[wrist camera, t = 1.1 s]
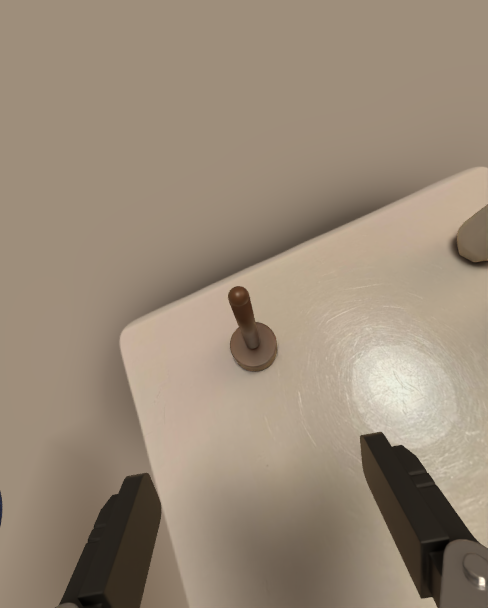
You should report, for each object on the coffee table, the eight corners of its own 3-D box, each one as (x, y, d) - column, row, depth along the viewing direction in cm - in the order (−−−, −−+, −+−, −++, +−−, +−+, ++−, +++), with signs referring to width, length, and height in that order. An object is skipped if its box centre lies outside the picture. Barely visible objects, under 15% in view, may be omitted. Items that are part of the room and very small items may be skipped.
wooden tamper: (238, 376, 34) (209, 333, 20) (229, 335, 36) (197, 272, 23) (282, 364, 34) (281, 313, 20) (269, 324, 36) (262, 254, 23)
